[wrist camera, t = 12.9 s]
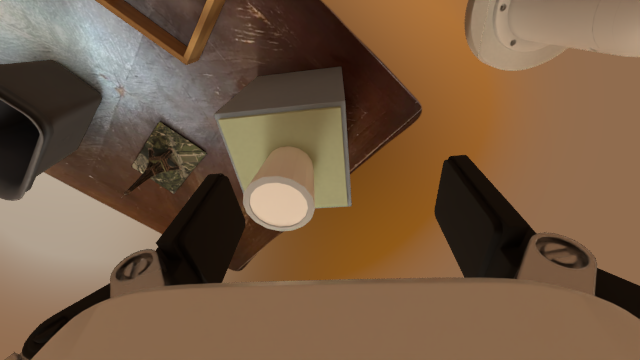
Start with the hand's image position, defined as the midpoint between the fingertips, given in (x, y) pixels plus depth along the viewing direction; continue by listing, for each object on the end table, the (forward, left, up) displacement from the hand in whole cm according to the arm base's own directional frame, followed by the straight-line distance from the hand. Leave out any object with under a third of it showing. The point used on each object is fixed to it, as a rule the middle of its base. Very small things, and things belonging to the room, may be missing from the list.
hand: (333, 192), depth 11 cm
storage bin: (+51, +2, -34) cm, 62 cm away
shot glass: (+6, +8, -16) cm, 19 cm away
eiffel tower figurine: (+36, +15, -34) cm, 52 cm away
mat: (+6, +8, -16) cm, 19 cm away
